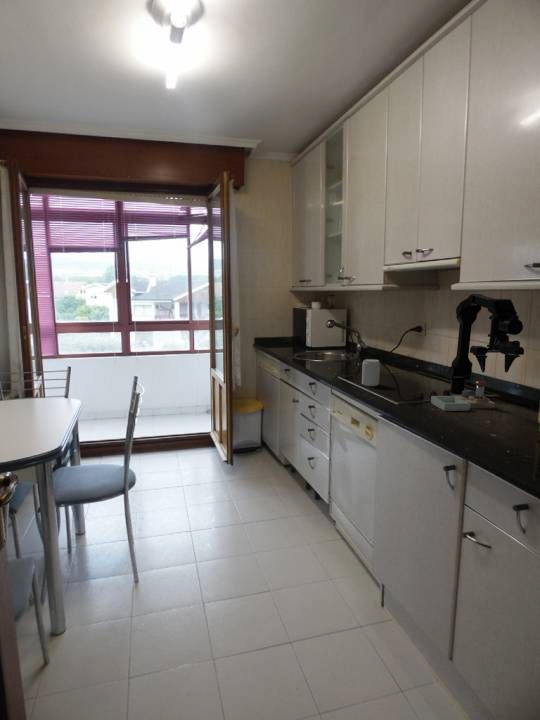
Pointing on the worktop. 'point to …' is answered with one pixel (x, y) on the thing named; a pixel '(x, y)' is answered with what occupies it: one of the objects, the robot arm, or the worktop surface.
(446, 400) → the tray
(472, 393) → the block
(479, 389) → the lock pin
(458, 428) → the worktop surface
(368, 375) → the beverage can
